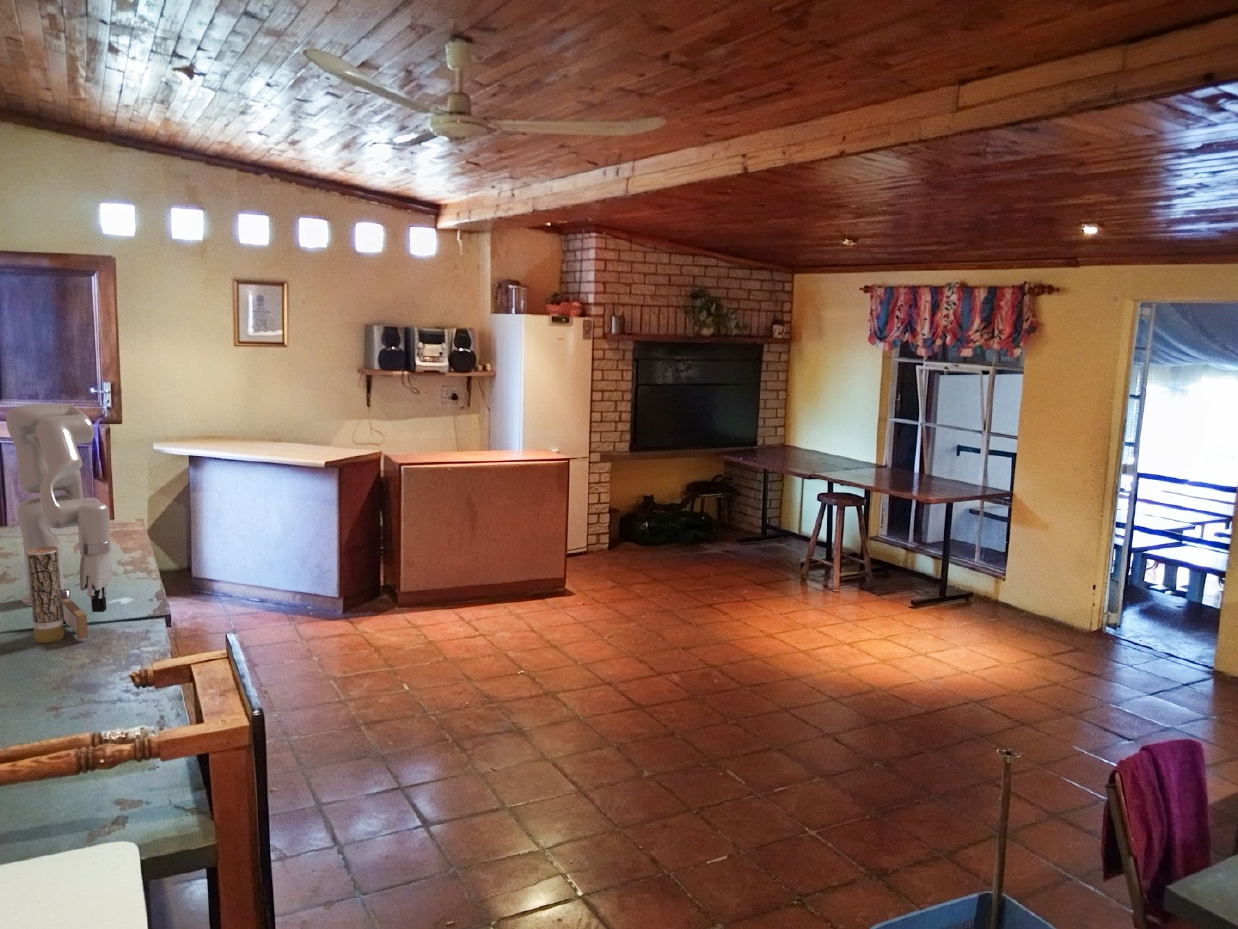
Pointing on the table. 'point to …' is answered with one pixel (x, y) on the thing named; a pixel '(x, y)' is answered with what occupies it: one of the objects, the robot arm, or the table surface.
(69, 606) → the gate
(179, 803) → the table surface
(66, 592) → the hinge post
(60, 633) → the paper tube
